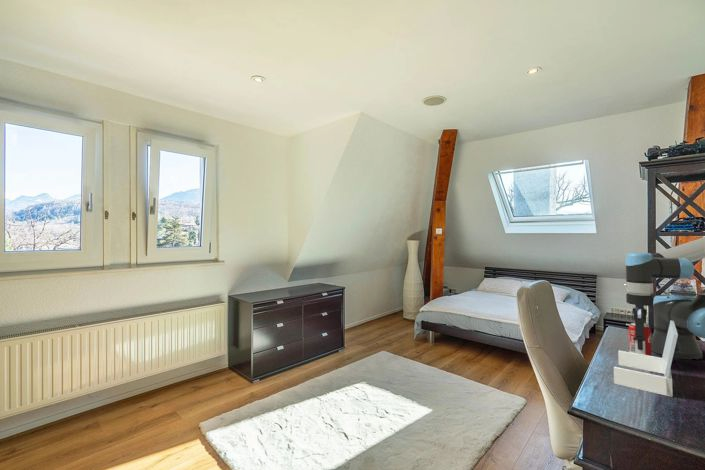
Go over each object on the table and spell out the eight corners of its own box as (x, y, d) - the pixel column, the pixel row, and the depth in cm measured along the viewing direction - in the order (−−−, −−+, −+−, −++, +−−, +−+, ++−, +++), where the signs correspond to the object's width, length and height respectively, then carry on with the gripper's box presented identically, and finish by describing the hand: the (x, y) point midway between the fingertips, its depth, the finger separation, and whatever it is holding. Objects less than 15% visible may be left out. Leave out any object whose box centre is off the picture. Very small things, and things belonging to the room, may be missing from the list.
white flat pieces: (669, 373, 109) (668, 358, 109) (672, 396, 93) (672, 379, 93) (618, 363, 118) (618, 350, 118) (613, 383, 102) (613, 367, 102)
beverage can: (656, 360, 116) (655, 326, 116) (636, 358, 118) (635, 326, 118) (644, 354, 122) (643, 322, 123) (625, 353, 124) (624, 321, 124)
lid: (662, 356, 110) (665, 357, 110) (664, 376, 94) (668, 377, 94) (670, 320, 109) (674, 321, 108) (674, 334, 93) (678, 335, 92)
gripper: (627, 289, 130) (628, 347, 130) (624, 295, 116) (626, 360, 115) (652, 291, 125) (654, 351, 124) (653, 298, 111) (654, 365, 110)
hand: (640, 355), depth 120 cm, fingers closed on beverage can, 6 cm apart
